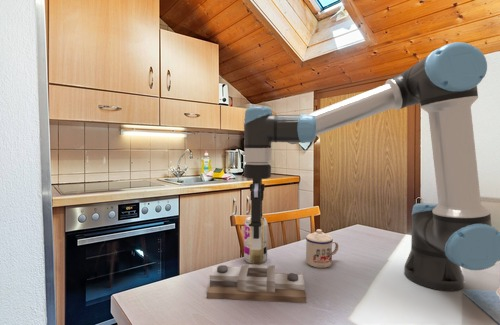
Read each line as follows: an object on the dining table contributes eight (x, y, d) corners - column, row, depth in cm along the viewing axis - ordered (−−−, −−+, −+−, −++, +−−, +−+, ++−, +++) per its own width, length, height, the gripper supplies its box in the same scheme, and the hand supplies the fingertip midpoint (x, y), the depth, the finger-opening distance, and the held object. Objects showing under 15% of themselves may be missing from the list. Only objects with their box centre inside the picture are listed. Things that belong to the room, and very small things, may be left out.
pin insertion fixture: (301, 278, 83) (301, 261, 83) (306, 302, 70) (306, 281, 70) (216, 275, 85) (216, 258, 85) (206, 297, 72) (206, 277, 72)
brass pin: (259, 257, 80) (259, 216, 79) (266, 262, 76) (266, 220, 76) (247, 259, 78) (247, 218, 78) (253, 264, 75) (253, 221, 74)
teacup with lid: (313, 269, 89) (313, 234, 89) (301, 259, 98) (301, 227, 98) (345, 265, 92) (345, 232, 92) (330, 255, 101) (331, 224, 101)
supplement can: (247, 265, 92) (247, 222, 92) (241, 256, 100) (241, 216, 100) (270, 263, 95) (270, 220, 94) (262, 254, 103) (263, 214, 102)
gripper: (247, 162, 85) (246, 236, 86) (240, 165, 68) (239, 257, 69) (271, 162, 84) (270, 237, 85) (270, 165, 67) (269, 258, 68)
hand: (256, 246), depth 77 cm, fingers closed on brass pin, 4 cm apart
